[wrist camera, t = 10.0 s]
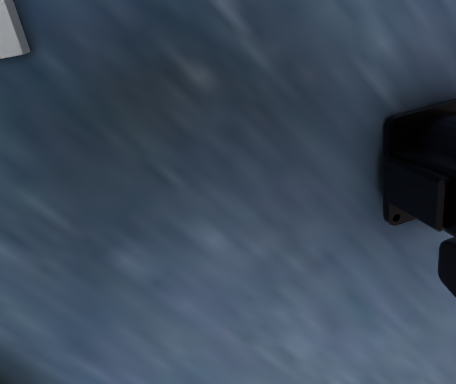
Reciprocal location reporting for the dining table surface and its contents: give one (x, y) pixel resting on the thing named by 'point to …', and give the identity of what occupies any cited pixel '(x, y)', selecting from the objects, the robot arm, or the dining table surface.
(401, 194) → the robot arm
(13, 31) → the shaft block
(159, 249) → the dining table surface
